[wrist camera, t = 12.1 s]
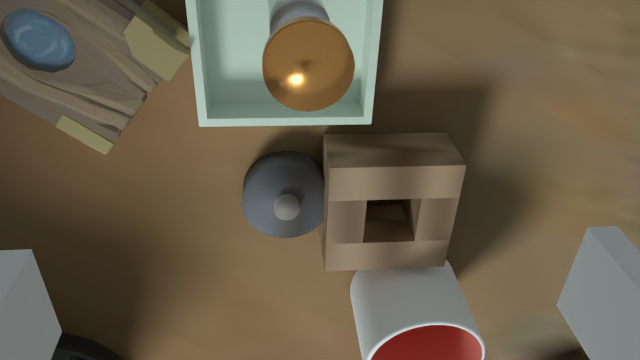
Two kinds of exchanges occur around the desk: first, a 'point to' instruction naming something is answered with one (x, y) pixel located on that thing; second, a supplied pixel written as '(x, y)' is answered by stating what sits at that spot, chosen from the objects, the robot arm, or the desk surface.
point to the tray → (246, 63)
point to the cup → (413, 315)
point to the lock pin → (305, 56)
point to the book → (87, 61)
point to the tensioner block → (363, 198)
